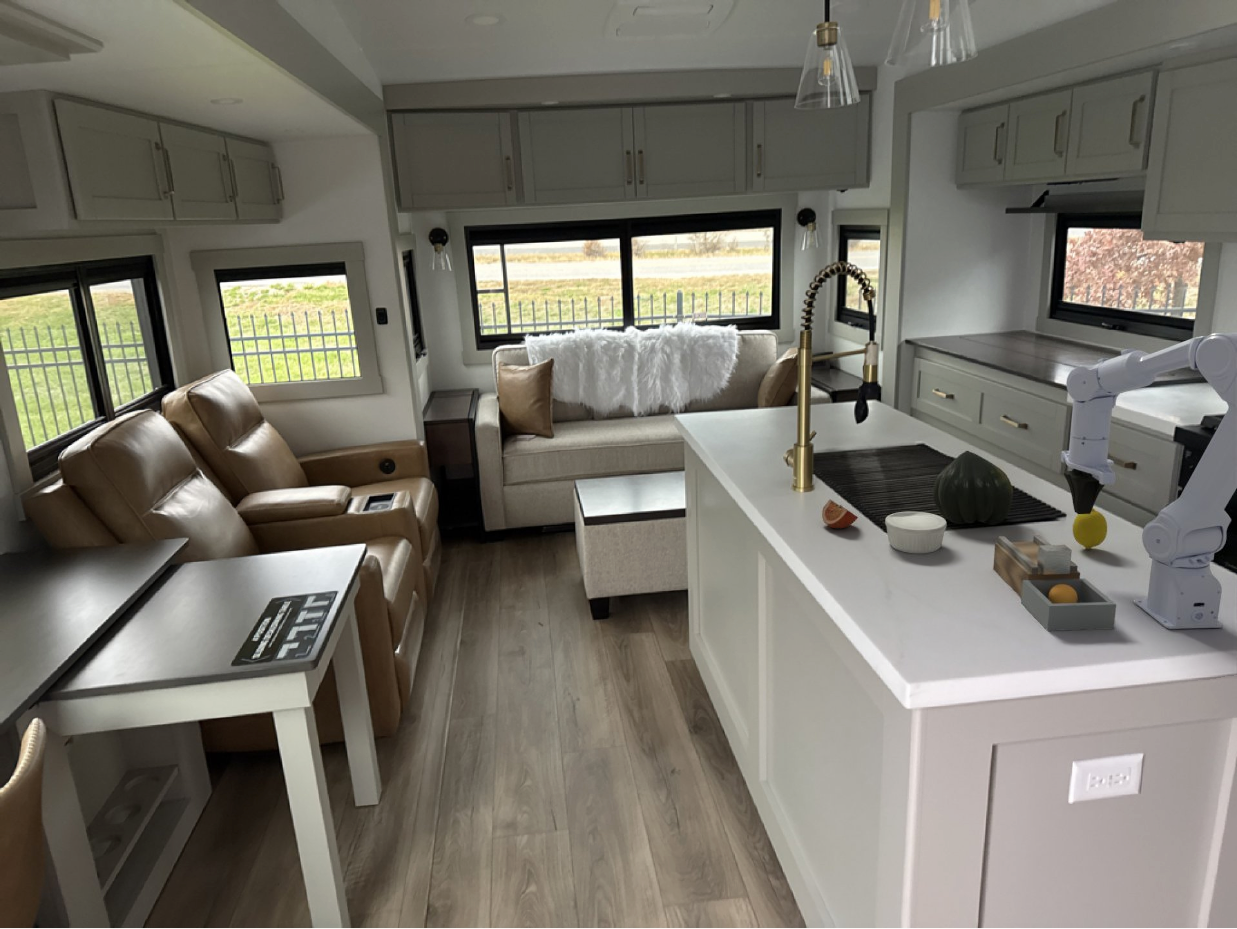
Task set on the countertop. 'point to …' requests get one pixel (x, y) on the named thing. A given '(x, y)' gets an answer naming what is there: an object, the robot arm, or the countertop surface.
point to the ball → (1062, 594)
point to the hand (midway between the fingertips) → (1082, 512)
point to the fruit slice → (837, 515)
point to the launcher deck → (1023, 563)
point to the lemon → (1090, 529)
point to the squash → (973, 491)
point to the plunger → (1054, 559)
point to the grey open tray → (1069, 605)
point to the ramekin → (915, 531)
